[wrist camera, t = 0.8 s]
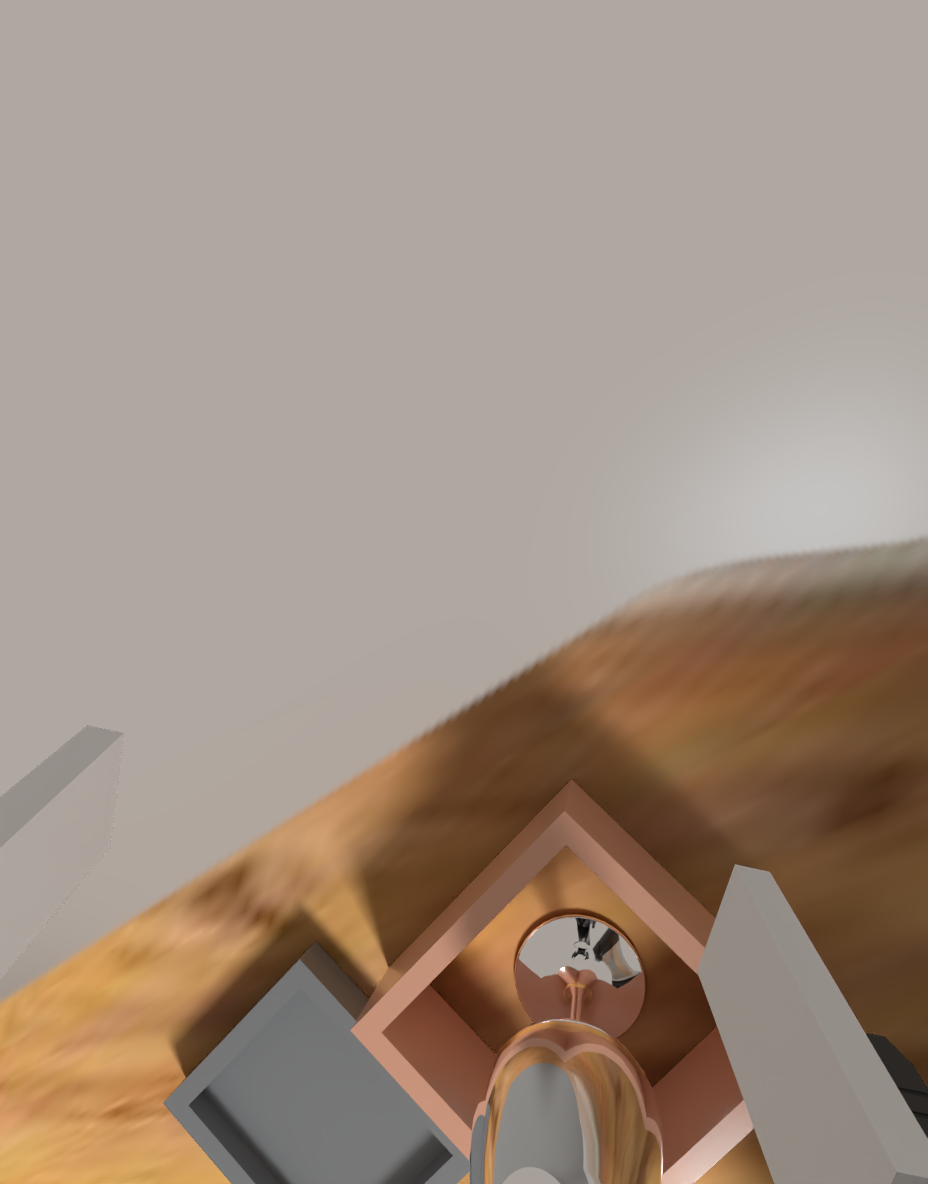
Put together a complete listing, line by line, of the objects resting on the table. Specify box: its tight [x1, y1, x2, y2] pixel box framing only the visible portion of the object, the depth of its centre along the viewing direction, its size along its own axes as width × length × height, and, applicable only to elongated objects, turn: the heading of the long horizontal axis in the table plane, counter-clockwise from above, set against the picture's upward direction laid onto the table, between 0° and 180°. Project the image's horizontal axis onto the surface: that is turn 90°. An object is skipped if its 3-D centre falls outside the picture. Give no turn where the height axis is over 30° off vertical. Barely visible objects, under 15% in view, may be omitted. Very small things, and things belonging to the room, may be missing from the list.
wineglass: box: [470, 914, 663, 1184], centre depth 35 cm, size 8×8×20 cm
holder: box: [350, 779, 754, 1184], centre depth 41 cm, size 16×16×7 cm
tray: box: [163, 941, 470, 1184], centre depth 46 cm, size 15×13×2 cm
